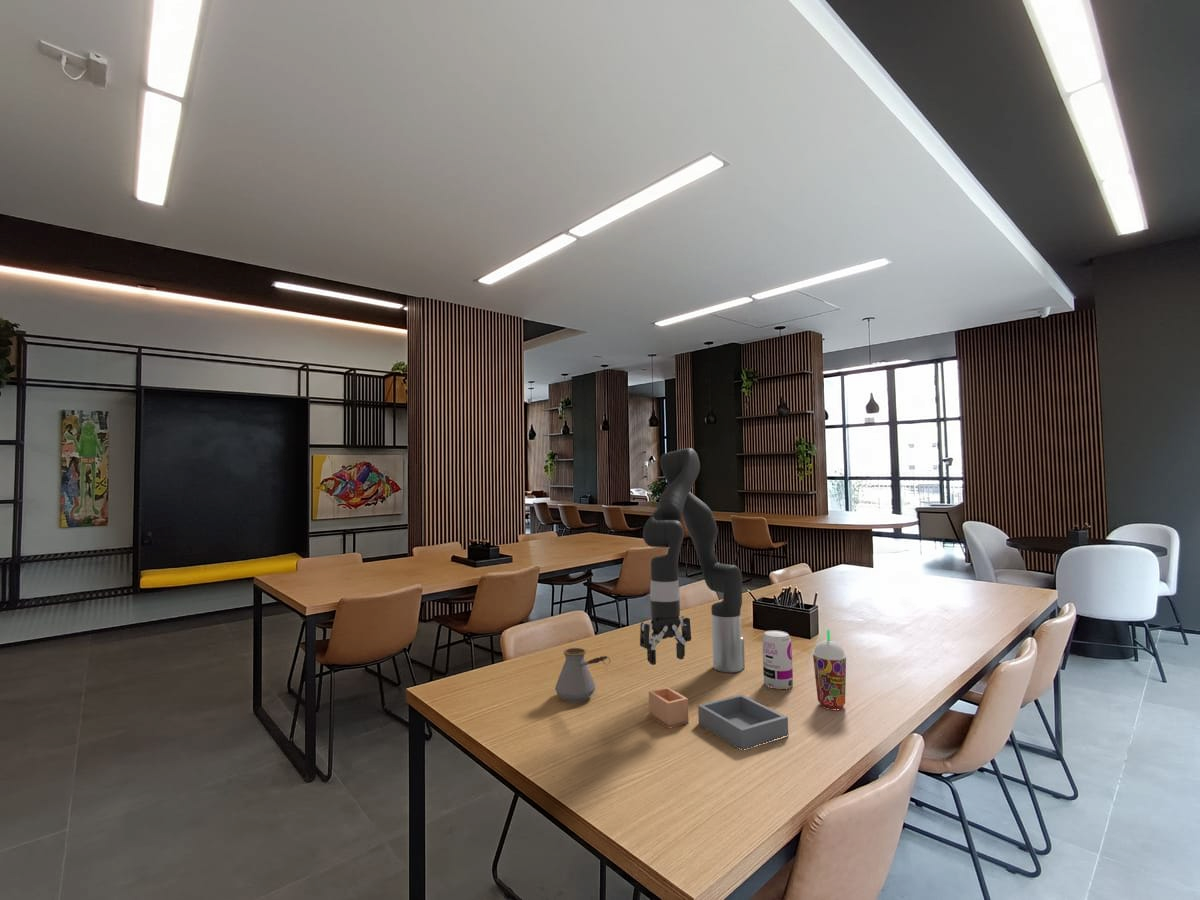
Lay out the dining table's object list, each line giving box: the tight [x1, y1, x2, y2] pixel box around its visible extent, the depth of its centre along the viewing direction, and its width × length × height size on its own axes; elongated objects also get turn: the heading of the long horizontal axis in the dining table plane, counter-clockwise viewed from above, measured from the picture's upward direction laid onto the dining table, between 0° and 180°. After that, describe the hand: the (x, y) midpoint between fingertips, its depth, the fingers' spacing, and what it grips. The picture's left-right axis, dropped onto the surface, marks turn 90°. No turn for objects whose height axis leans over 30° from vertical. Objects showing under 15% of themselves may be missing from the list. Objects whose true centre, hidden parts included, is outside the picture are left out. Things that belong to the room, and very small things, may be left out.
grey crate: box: [697, 694, 789, 751], centre depth 132 cm, size 14×16×4 cm
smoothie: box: [812, 629, 847, 711], centre depth 145 cm, size 8×8×20 cm
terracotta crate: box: [648, 686, 690, 729], centre depth 139 cm, size 6×9×6 cm, turn 27°
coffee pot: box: [555, 647, 611, 704], centre depth 151 cm, size 21×12×15 cm, turn 36°
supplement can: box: [761, 629, 794, 690], centre depth 161 cm, size 8×8×15 cm
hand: (666, 661), depth 140 cm, fingers open, 8 cm apart
